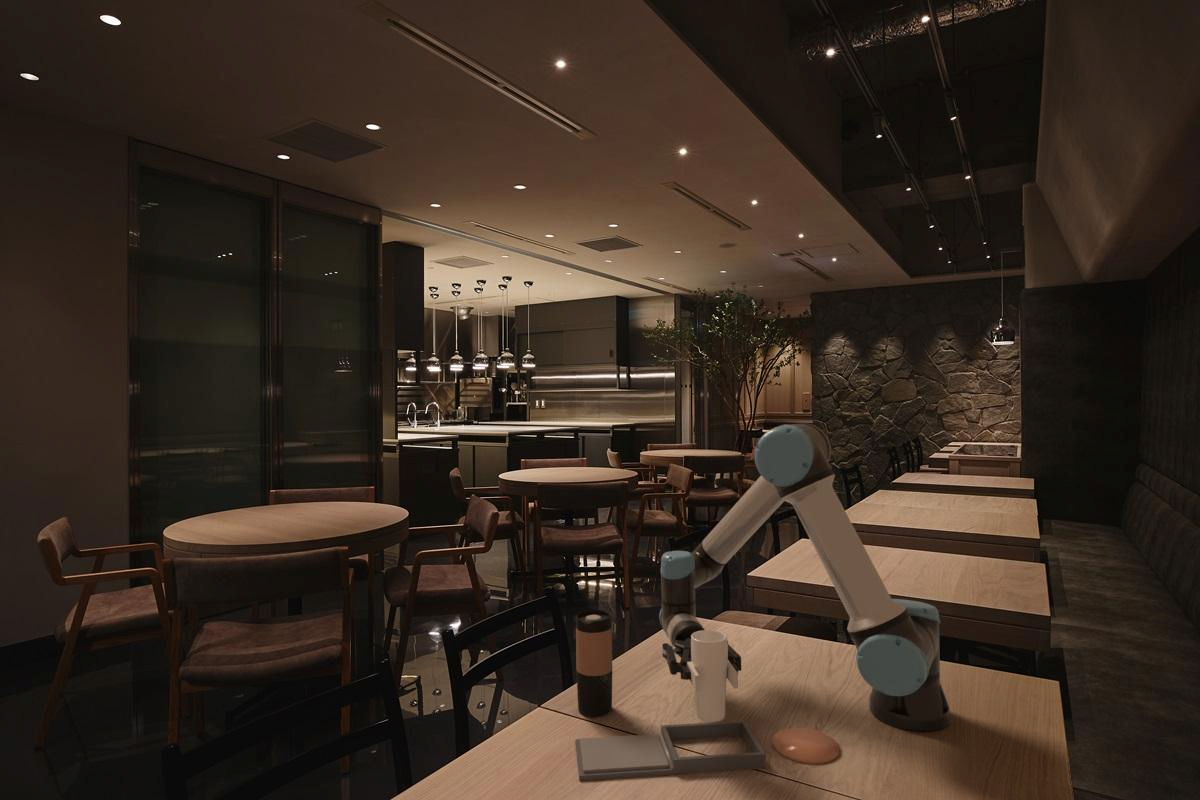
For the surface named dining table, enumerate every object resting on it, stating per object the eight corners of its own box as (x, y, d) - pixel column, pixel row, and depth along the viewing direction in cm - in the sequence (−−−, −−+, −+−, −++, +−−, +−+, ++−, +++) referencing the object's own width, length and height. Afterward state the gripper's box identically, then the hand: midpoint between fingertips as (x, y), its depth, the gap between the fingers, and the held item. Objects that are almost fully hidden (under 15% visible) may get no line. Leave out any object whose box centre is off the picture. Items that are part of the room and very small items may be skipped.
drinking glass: (684, 717, 126) (683, 636, 126) (706, 705, 131) (705, 627, 131) (714, 729, 121) (713, 645, 121) (736, 716, 126) (734, 635, 126)
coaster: (823, 729, 134) (822, 726, 134) (850, 761, 122) (850, 758, 122) (763, 732, 133) (763, 729, 133) (785, 766, 121) (785, 762, 121)
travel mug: (605, 698, 149) (603, 607, 149) (618, 713, 142) (617, 618, 142) (572, 705, 147) (570, 612, 146) (584, 720, 139) (582, 623, 139)
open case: (744, 733, 133) (744, 720, 133) (766, 768, 121) (766, 754, 121) (575, 743, 130) (575, 730, 130) (579, 780, 118) (579, 766, 118)
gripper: (733, 652, 145) (770, 699, 122) (643, 657, 143) (663, 706, 120) (732, 617, 145) (768, 657, 122) (642, 622, 143) (662, 664, 120)
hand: (716, 681), depth 121 cm, fingers closed on drinking glass, 6 cm apart
